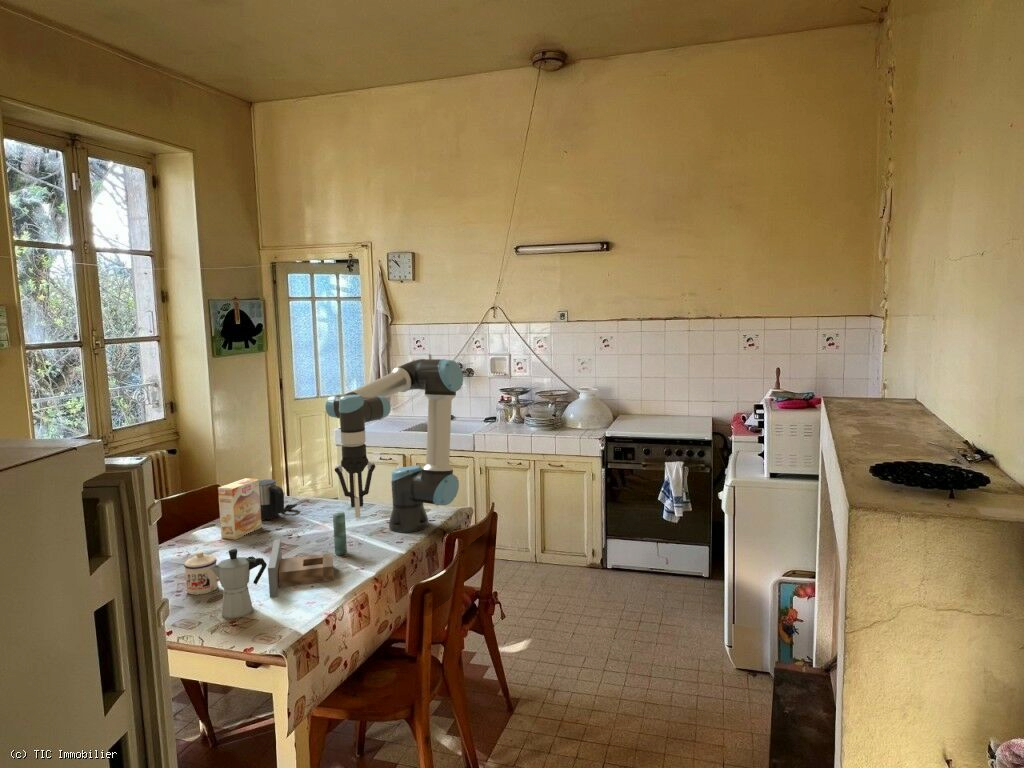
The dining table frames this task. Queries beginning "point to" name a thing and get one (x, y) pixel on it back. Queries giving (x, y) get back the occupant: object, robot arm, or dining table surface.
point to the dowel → (339, 533)
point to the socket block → (306, 569)
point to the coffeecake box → (239, 508)
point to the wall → (274, 568)
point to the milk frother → (272, 499)
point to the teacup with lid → (200, 574)
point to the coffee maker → (237, 583)
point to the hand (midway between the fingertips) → (357, 516)
